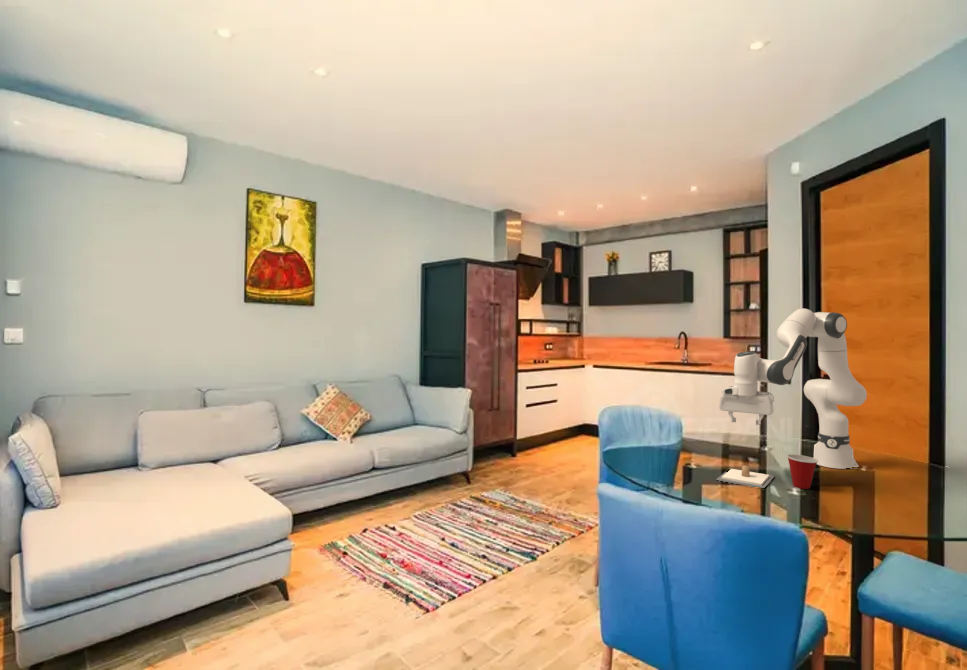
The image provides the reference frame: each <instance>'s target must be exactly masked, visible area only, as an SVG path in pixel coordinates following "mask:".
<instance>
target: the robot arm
mask: <svg viewBox="0 0 967 670" xmlns="http://www.w3.org/2000/svg"><path fill="white" fill-rule="evenodd" d="M847 328H848V322H847V318H846V317H845V316H844V315H843V313H839V312H834V311H833V312H826V311H825V312H823V311H817V312H813V311H812V310H811V309H808V308H804V307H803V308H798V309H796V310H795V311H793V312H792V313H791V314H790V315H789V316H787V317H786V318H785V320H784V321H783V322H782V323H781V324H780V325H779V327H777V331H776V339H777V340H778V342H779V343H780V344H781V345H782V346H783V347H785V348H787V350H786V352H785V354H784V355H783V357H782V358H780V359H765V358H761V356H758V355H757V353H756V352H754V351H742V352H739V353H737V354H736V355H735V356H734V364H733V374H734V381H733V385H732V386H727V387H725V388H723V389H722V390H721V395H720V399H719V406H718V407H719V409H720V411H722V412H728V415H729V417H730V419H731V420H730V421H731V423H736V422H737V417H734V415H733V414H734V413H743V414H753V415H758V416H759V418H758V419H756V420H755V426H760V425H761V424H762V423H761V422H762V420H763V418H764V416H771V415H772V414H774V404H773V403H774V402H775V400H774V399H775V397H774V395H773V394H772V393H770V391H758V388H759V387H758V386H759V384H758V382H762V383H770V384H774V385H779V386H785V385H786V384H788V383H789V382H790V381H791V380H793V376H794V373H795V370H796V368H797V366H798V364H799V362H800V361H801V359H802V357H803V355H804V353H805V351H806V349H807V346H808V341H807V338H808V337H809V338H817V360H818V361H817V363H818V367H819V369H820V370H821V371H823V372H824V373H826V374H827V375H828V377H829V379H828V378H827V379H825V378H824V379H823V378H815V379H809V380H807V381H806V382H805V384H804V386H803V393H804V396H805V397H806V398H807V399H808V400H809V401H810V402H811V403H812V405H813V406H814V407H815V409H816V413H817V414H818V415H817V417H818V425H819V429H818V430H819V431H818V433H817V440H818V441H817V442H816V443H815V444H814V445H813V446H814V447H813V457H812V458H815V459H817V460H818V462H817V464H816V465H818V466H822V467H826V468H830V469H831V468H832V469H839V470H847V469H846V468H850V469H853V468H852V467H859V468H860V466H859V464H858V463H857V461H856V459H855V456H854V449H853V448H852V447H851V445H850V443H851V442H850V441H851V438H850V435H849V419H848V417H847V415H845V414H844V413H842V412H841V411H840V409H839V408H838V406H844V407H857V406H861V405H863V404H864V402H866V400H867V395H868V394H867V390H866V387H864V385H862V384H861V383H860V382H858V380H857V379H856V378H855V377H854V376H853V374H852V372H851V370H850V367H849V361H848V346H847V338H846V334H845V333H846V330H847Z"/></svg>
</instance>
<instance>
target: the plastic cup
mask: <svg viewBox="0 0 967 670" xmlns="http://www.w3.org/2000/svg"><path fill="white" fill-rule="evenodd" d="M786 457H787V460H788V464H789V465H788V466H789V469H790V470H789V471H790V477H791V480H792V485H793V487H795V488H796V489H802V490H803V489H804V490H805V489H806V490H808V489H811V485H812V481H813V477H814V473H815V469H816V466H817V465H818V464H817V462H818V460H817V459H815V458H813V457H812V456H808V455H803V454H792V453H790V454H787V455H786Z"/></svg>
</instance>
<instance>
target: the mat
mask: <svg viewBox="0 0 967 670" xmlns="http://www.w3.org/2000/svg"><path fill="white" fill-rule="evenodd" d="M729 469H730V470H731V469H732V468H729ZM726 473H727V472H726V471H724V472H723V473H722V474H721V475H719V476H718V477H717V478H716V479H715V481H716V480H719V481H718V482H720V481H723V482H722V483H725V482H728V483H727V484H731V483H733V484H732V485H736V484H741V485H740V486H742V485H748V486H751V487H750V488H753V487H759V488H765V487H766V486H767V485H768V484H770V483H771V482H772V481H773V480H774V479H775V478H774V477H776V475H772V474H771V475H770V474H769V475H770V477H769V478H768V479H767V480H766V481H765V482H764V483H763V485H762V486H760V485H754V484H749V483H743V482H737V481H732V480H726V479H722V476H723V475H724V474H726ZM773 478H774V479H773ZM772 479H773V480H772ZM771 480H772V481H771ZM770 481H771V482H770ZM768 486H769V485H768ZM768 486H767V487H768ZM767 487H766V488H767ZM766 488H765V489H766Z"/></svg>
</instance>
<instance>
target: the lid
mask: <svg viewBox="0 0 967 670" xmlns="http://www.w3.org/2000/svg"><path fill="white" fill-rule="evenodd" d="M750 468H751V467H750V466H748V465H746V464H745V465H744V464H743V465H741V469H737V468H730V469H731V470H729V471H728V472H727V473H726V474H724V475H723V476H722V479H726V480H732V481H737V482H743V483H749V484H754V485H760V486H762V485H763V483H764V482H765V481H766V480H767V479H768V478H769V477H770V474H765V473H761V472H760V473H759V472H753V471H751V469H750Z"/></svg>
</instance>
